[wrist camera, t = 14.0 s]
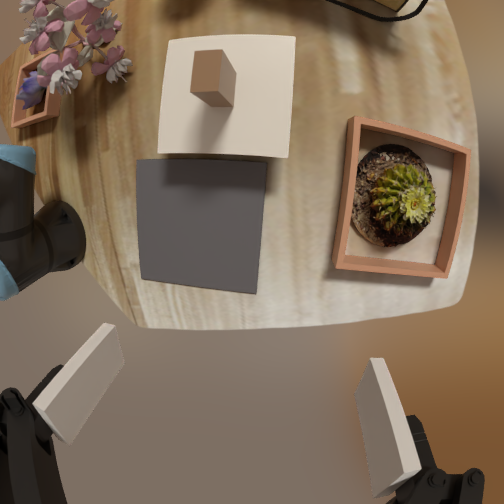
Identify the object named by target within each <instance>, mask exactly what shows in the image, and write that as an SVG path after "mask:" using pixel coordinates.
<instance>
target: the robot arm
mask: <svg viewBox="0 0 504 504" xmlns="http://www.w3.org/2000/svg"><path fill="white" fill-rule="evenodd" d="M35 164H36V153H35V151H34V149H33V148H31V147H28V146H18V145H5V144H0V300H1V301H5V300H7V299H9V298H11V297H13V296H14V295H17V294H18V293H19V292H20V291H22V290H23V289H25V288H26V287H28V286H29V285H31V284H32V283H34V282H35V281H37V280H38V279H40V278H41V277H43V276H44V275H46V274H47V273H49V272H56V271H64V270H68V269H71V268H73V267H74V266H76V265H77V264H79V262H80V261H81V260H82V258H83V256H84V253H85V247H86V238H85V232H84V228H83V224H82V222H81V219H80V217H79V216H78V214H77V212H76V211H75V210H74V209H73V208H72V207H71V206H70V205H69V204H68V203H66V202H63V201H54V202H51V203H48V204H46V205H45V206H44V207H42V208H41V209H40V210H39V211H38V212H37V213H36V214H35V215H34V184H35V175H36V171H35ZM124 364H125V362H124V358H123V354H122V351H121V347H120V343H119V339H118V335H117V330H116V326H115V325H111V324H107V323H103V324H102V325H101V327H100V328H99V329H98V330H97V331H96V332H95V333H94V334H93V335H92V336H91V337H90V338H89V339H88V340H87V341H86V343H85V344H84V345H83V346H82V347H81V348H80V349H79V350H78V351H77V352H76V353H75V355H74V356H73V357H72V358H71V359H70V360H69V361H68V362H67V363H66V365H65V366H63V365H58V366H57V367H55V368H53V369H52V370H51V371H50V372H49V373H48V374H47V376H46V377H45V378H44V379H43V380H42V382H40V383H39V385H38V386H37V387H36V388H35V389H34V390H33V391H32V393H31V394H30V395H29V396H28V397H27V399H26V400H24V398H23V397H22V395H21V393H20V392H19V391H18V390H17V389H16V388H7V389H5V390H4V391H2V393H1V394H0V504H67V501H66V497H65V494H64V490H63V487H62V483H61V479H60V475H59V471H58V466H57V461H56V456H55V451H54V445H53V440H52V437H51V435H52V434H53V433H54V434H55V436H56V437H57V438H58V439H59V440H60V441H63V442H64V443H66V444H67V445H69V446H70V445H71V444H72V442H73V441H74V439H75V437H76V436H77V434H78V433H79V431H80V429H81V428H82V426H83V425H84V423H85V422H86V420H87V418H88V417H89V415H90V414H91V412H92V411H93V409H94V408H95V406H96V405H97V403H98V402H99V400H100V399H101V397H102V396H103V394H104V393H105V391H106V390H107V388H108V387H109V385H110V384H111V382H112V381H113V380H114V378H115V377H116V375H117V374H118V372H119V371H120V369H121V368H122V366H123V365H124ZM354 396H355V400H356V404H357V409H358V414H359V419H360V424H361V429H362V434H363V439H364V445H365V450H366V456H367V462H368V468H369V475H370V480H371V488H372V496H373V498H378V497H383V496H388V495H390V494H391V493H393V492H394V491H396V496H395V497H394V498H392V499H391V500H389V501H388V502H387V503H386V504H482V498H483V490H484V481H485V480H484V474H483V472H482V471H481V470H480V469H477V468H471V469H469V470H468V471H466V472H465V473H464V474H446V473H445V471H443V470H441V469H438V468H437V466H436V464H435V461H434V458H433V455H432V452H431V449H430V446H429V443H428V440H427V437H426V434H425V433H424V429H423V426H422V423H421V422H420V420H419V419H418V418H417V417H416V416H415V415H410V416H405V414H404V411H403V408H402V406H401V403H400V400H399V397H398V394H397V392H396V389H395V386H394V384H393V381H392V379H391V376H390V373H389V371H388V368H387V366H386V363H385V361H384V358H370V359H369V362H368V364H367V366H366V369H365V371H364V374H363V376H362V379H361V380H360V383H359V385H358V387H357V389H356V391H355V393H354Z"/></svg>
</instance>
